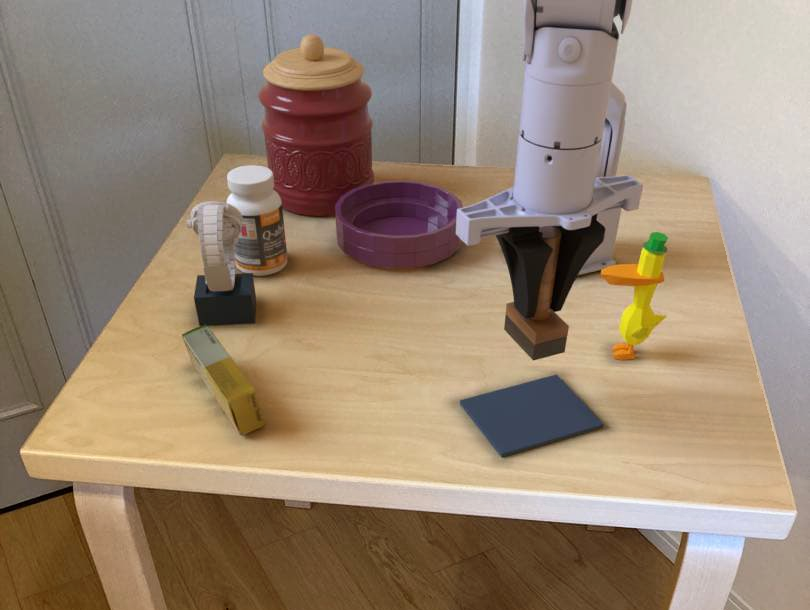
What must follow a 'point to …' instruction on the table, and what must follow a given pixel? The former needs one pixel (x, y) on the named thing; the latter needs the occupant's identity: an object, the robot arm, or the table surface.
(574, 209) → the robot arm
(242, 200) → the pill bottle
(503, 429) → the mat
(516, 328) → the wooden peg on base
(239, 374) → the medication box
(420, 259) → the bowl
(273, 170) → the kitchen canister
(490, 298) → the table surface
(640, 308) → the toy figure
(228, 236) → the watch
